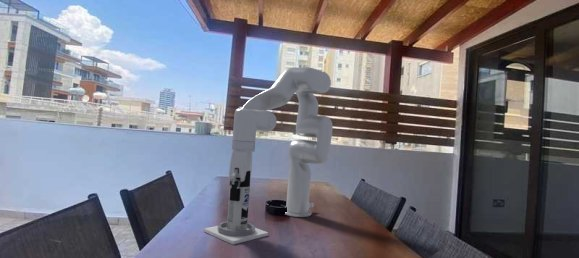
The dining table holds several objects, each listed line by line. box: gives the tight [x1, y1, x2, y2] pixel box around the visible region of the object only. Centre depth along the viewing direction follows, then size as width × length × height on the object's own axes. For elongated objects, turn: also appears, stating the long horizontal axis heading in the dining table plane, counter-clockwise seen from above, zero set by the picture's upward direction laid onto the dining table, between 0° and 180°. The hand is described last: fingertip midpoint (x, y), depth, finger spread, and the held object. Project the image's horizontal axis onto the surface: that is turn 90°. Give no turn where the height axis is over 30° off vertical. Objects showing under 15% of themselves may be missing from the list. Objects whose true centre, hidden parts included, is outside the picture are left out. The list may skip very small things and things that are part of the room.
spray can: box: [226, 171, 252, 231], centre depth 115 cm, size 7×7×20 cm
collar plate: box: [203, 220, 269, 245], centre depth 115 cm, size 15×15×2 cm
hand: (239, 197), depth 115 cm, fingers open, 9 cm apart
